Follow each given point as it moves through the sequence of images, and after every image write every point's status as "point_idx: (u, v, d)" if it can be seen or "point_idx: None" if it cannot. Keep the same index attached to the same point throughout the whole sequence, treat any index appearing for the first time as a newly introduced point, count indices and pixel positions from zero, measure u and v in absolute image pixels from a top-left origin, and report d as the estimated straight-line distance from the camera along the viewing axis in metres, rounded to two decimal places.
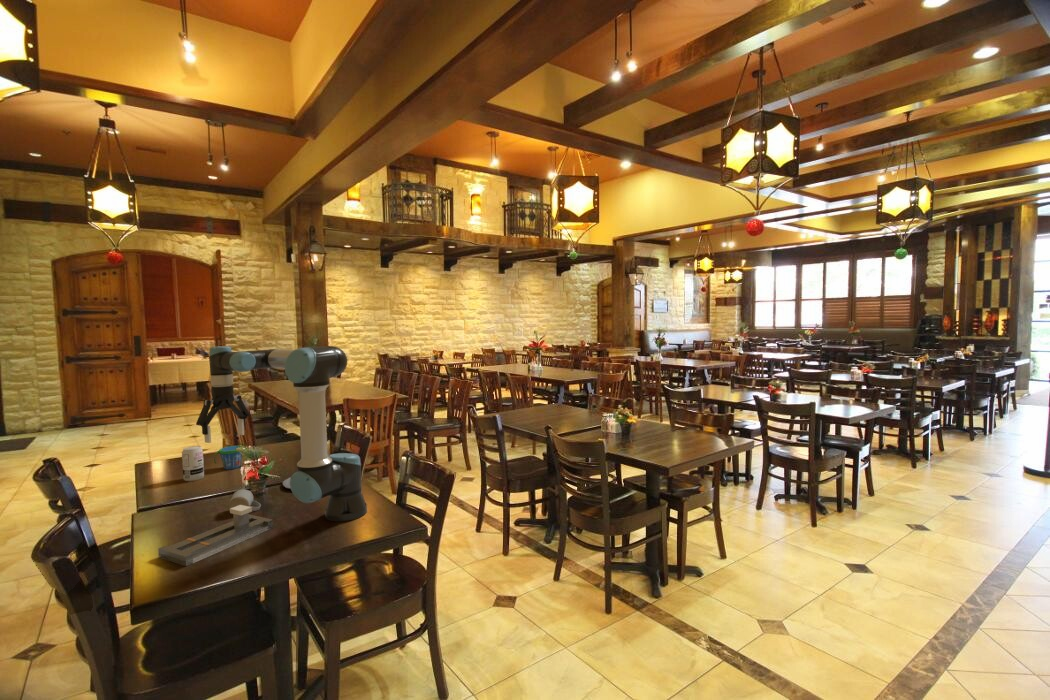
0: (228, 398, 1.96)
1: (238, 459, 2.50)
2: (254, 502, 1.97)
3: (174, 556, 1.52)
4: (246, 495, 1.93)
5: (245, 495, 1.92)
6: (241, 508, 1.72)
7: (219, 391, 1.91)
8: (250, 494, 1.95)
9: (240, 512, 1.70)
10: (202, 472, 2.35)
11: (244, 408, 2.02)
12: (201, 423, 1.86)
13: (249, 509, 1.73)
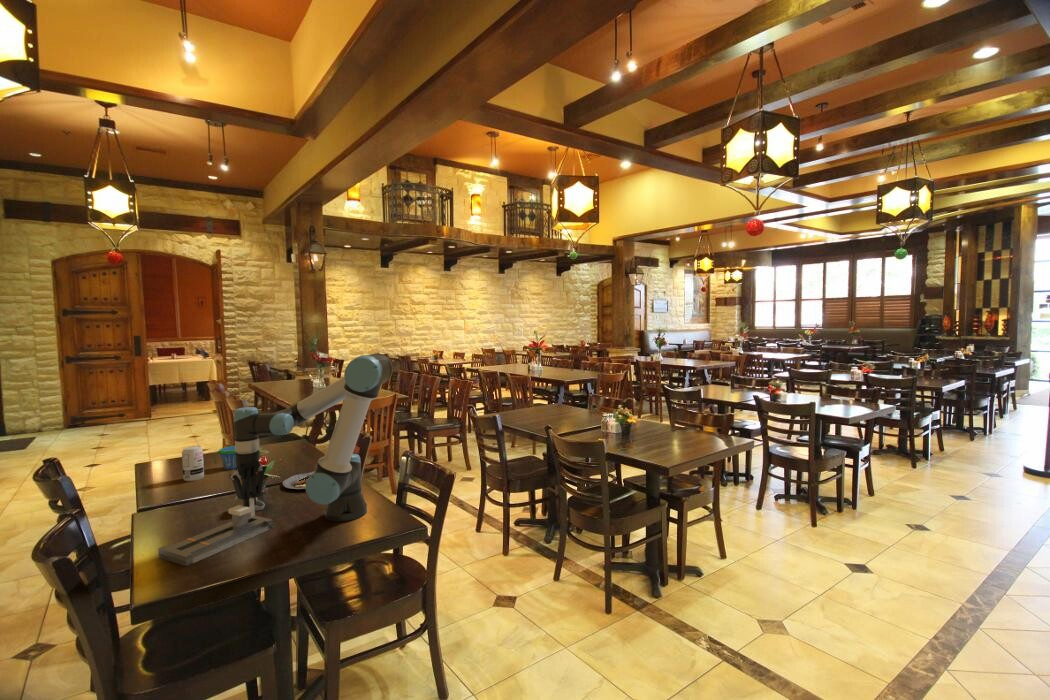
0: (254, 465, 1.77)
1: None
2: (258, 502, 1.97)
3: (174, 556, 1.52)
4: None
5: None
6: (240, 509, 1.72)
7: (245, 459, 1.72)
8: None
9: (239, 512, 1.70)
10: (202, 472, 2.35)
11: (260, 482, 1.79)
12: (243, 497, 1.73)
13: (248, 509, 1.73)
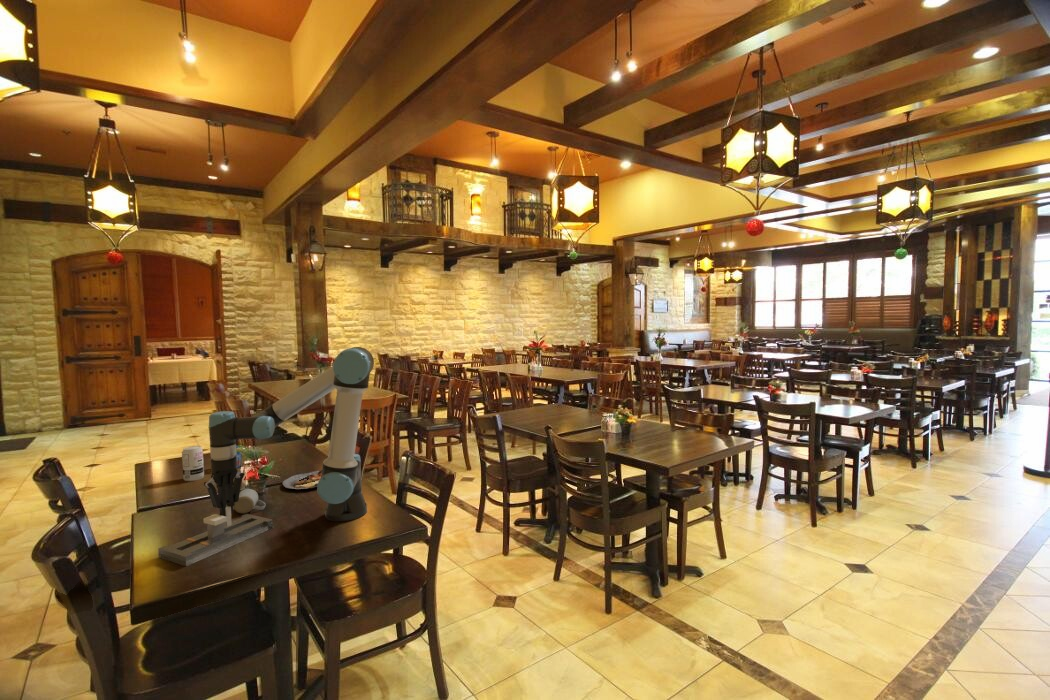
0: (231, 472, 1.69)
1: (238, 459, 2.50)
2: (259, 501, 1.97)
3: (174, 556, 1.52)
4: (251, 494, 1.93)
5: (250, 494, 1.93)
6: (216, 518, 1.64)
7: (220, 465, 1.64)
8: (255, 493, 1.96)
9: (214, 522, 1.62)
10: (202, 472, 2.35)
11: (238, 490, 1.71)
12: (218, 506, 1.65)
13: (224, 519, 1.65)
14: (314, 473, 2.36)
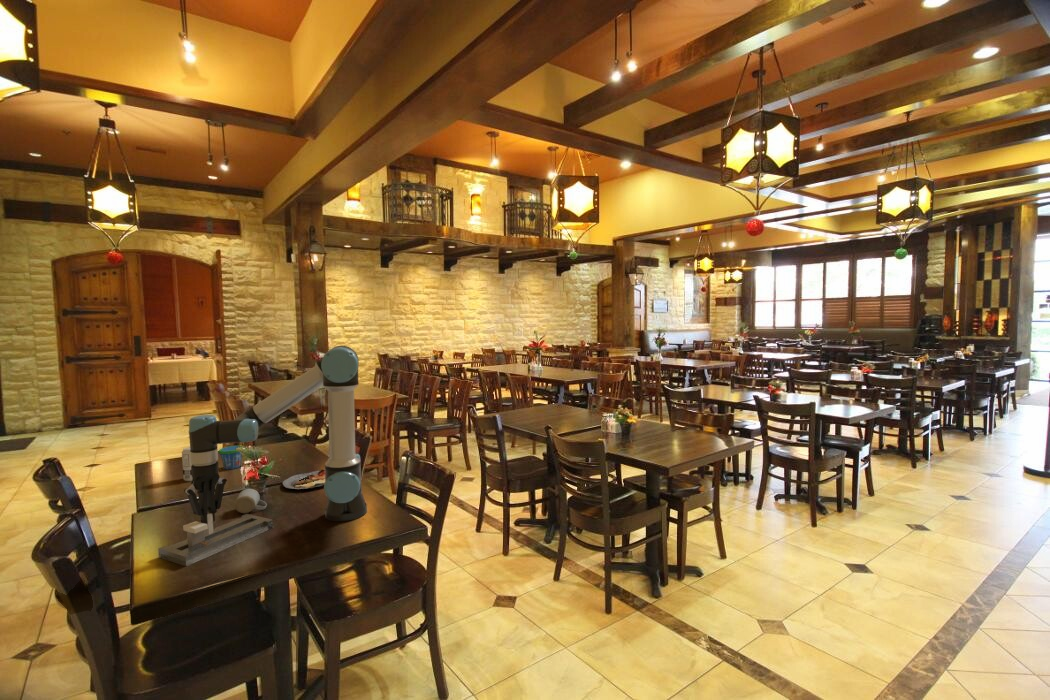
0: (212, 478, 1.63)
1: (238, 459, 2.50)
2: (260, 501, 1.98)
3: (174, 556, 1.52)
4: (252, 494, 1.93)
5: (252, 494, 1.93)
6: (196, 525, 1.58)
7: (201, 471, 1.58)
8: (256, 493, 1.96)
9: (194, 530, 1.56)
10: None
11: (220, 496, 1.65)
12: (199, 513, 1.59)
13: (204, 526, 1.59)
14: (314, 473, 2.36)
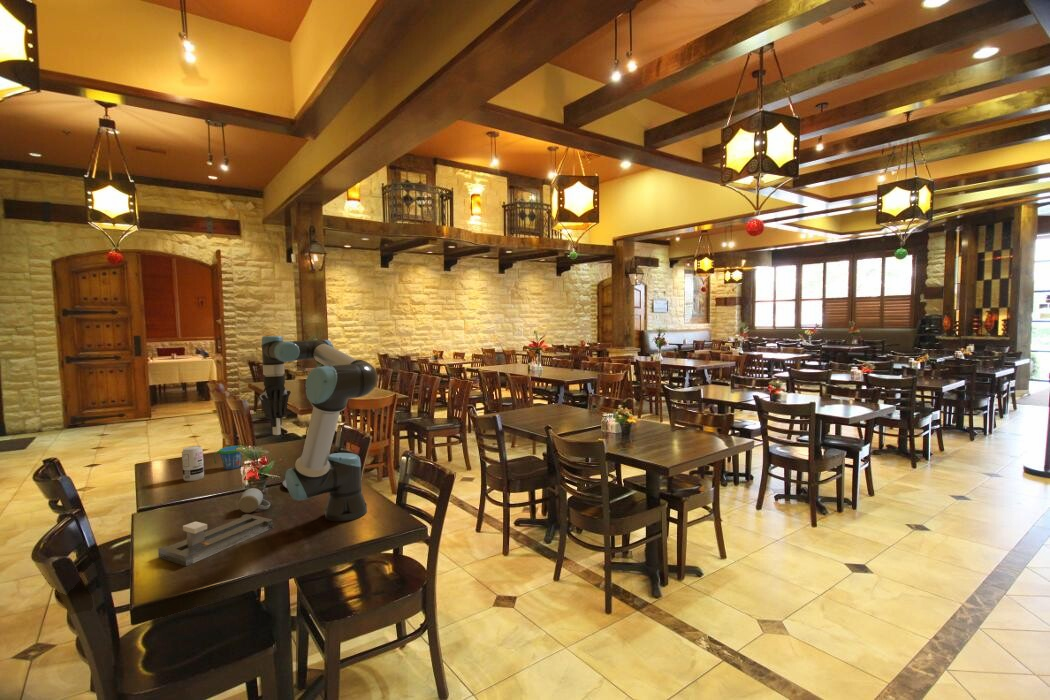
0: (280, 388, 1.95)
1: (238, 459, 2.50)
2: (264, 501, 1.98)
3: (174, 556, 1.52)
4: (256, 494, 1.94)
5: (255, 494, 1.93)
6: (196, 526, 1.58)
7: (272, 380, 1.90)
8: (259, 493, 1.97)
9: (193, 530, 1.56)
10: (202, 472, 2.35)
11: (285, 405, 1.97)
12: (270, 416, 1.91)
13: (204, 526, 1.59)
14: None
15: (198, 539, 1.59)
